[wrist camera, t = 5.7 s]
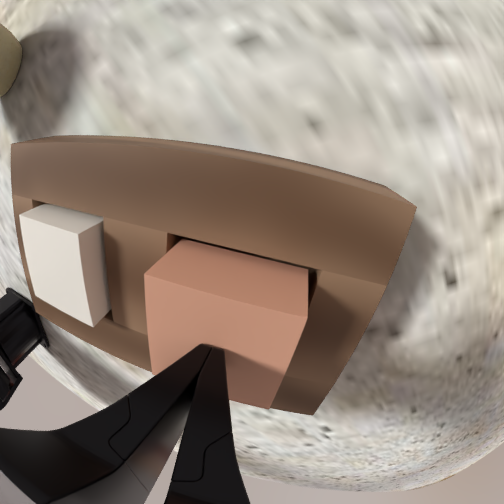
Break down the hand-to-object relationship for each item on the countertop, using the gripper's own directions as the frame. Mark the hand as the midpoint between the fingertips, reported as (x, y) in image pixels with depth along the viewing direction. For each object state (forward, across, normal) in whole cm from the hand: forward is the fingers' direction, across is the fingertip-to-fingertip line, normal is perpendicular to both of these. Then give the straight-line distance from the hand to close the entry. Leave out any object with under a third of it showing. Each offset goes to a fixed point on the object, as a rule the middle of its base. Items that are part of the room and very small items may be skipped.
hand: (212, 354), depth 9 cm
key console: (+6, +4, 0) cm, 8 cm away
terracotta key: (+3, 0, 0) cm, 3 cm away
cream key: (+4, +9, 0) cm, 10 cm away
